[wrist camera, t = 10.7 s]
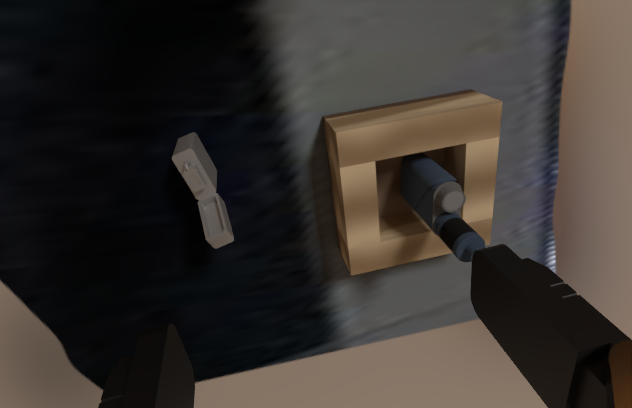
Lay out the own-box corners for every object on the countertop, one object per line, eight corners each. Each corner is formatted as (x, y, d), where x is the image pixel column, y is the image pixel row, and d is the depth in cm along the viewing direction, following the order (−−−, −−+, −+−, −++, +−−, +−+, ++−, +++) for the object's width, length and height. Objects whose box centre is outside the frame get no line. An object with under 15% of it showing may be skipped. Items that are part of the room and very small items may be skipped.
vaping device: (399, 201, 41) (459, 273, 30) (399, 151, 38) (464, 210, 28) (424, 197, 41) (492, 266, 31) (425, 147, 39) (500, 204, 28)
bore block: (322, 116, 37) (335, 132, 32) (470, 89, 38) (502, 101, 34) (338, 247, 43) (351, 275, 39) (464, 219, 45) (489, 244, 40)
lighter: (176, 139, 35) (164, 175, 28) (195, 131, 35) (187, 165, 28) (216, 206, 38) (214, 253, 31) (233, 198, 38) (234, 244, 31)
